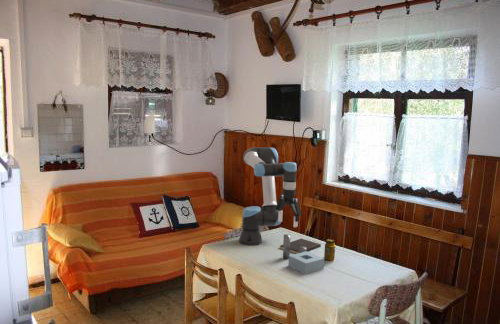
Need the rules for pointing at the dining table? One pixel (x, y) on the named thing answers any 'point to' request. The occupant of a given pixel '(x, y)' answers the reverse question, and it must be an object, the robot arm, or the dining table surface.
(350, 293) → the dining table surface
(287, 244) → the long pin
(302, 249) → the short pin
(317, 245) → the hardcover book
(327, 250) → the condiment
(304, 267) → the hole block
